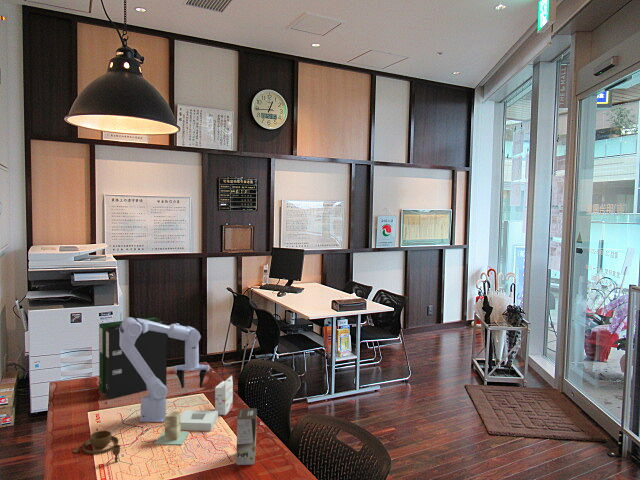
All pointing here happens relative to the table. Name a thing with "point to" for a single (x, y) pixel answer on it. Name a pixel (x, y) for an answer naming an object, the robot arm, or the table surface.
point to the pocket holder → (198, 420)
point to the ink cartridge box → (224, 397)
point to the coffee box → (246, 436)
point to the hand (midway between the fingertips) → (192, 387)
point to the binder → (118, 369)
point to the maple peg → (172, 425)
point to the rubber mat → (179, 441)
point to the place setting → (101, 443)
